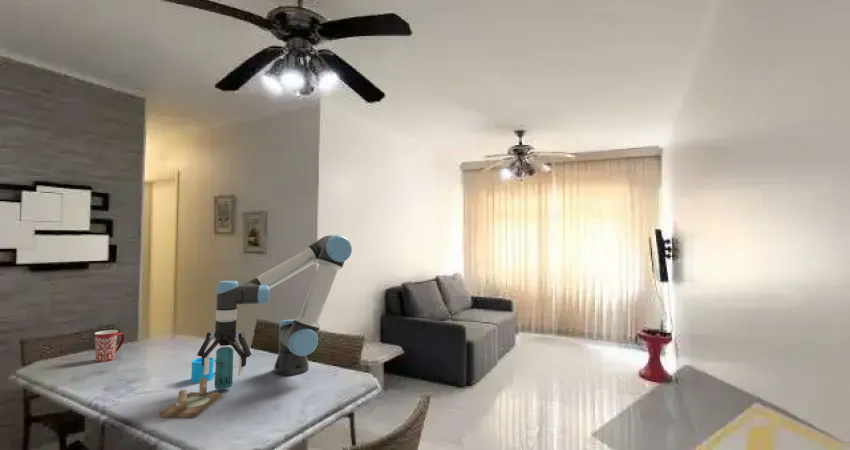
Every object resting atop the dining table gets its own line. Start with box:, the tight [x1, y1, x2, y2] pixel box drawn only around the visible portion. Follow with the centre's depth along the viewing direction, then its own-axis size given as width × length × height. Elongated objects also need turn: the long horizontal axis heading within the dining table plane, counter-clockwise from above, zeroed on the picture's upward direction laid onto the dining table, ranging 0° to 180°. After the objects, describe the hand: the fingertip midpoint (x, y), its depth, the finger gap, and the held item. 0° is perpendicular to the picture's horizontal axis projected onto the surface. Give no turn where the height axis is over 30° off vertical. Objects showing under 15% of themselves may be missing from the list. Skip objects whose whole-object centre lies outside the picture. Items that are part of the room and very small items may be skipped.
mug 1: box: [94, 329, 126, 363], centre depth 200 cm, size 13×9×14 cm
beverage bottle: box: [214, 340, 235, 390], centre depth 161 cm, size 6×7×20 cm
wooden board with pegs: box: [158, 378, 223, 418], centre depth 145 cm, size 12×18×8 cm, turn 0°
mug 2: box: [190, 357, 216, 384], centre depth 175 cm, size 12×8×8 cm
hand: (223, 374), depth 161 cm, fingers open, 13 cm apart
